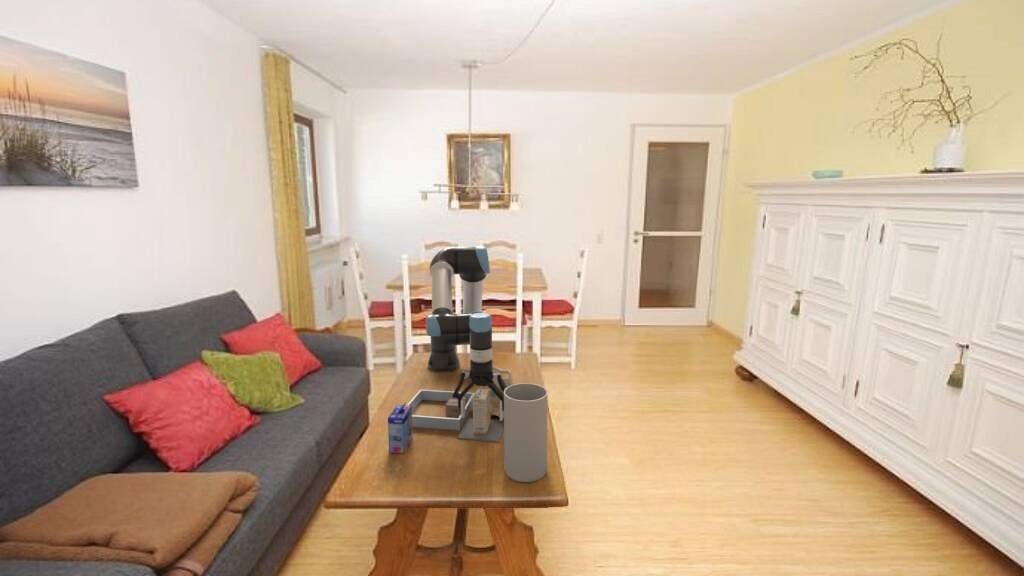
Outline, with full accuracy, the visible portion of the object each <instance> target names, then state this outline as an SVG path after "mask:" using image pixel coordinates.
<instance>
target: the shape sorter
mask: <svg viewBox="0 0 1024 576" xmlns="http://www.w3.org/2000/svg"><path fill="white" fill-rule="evenodd" d="M492 368H493V374H499V373H500V372H501V373H502V375H508V377H503V376H502V379H503V381H504V383H505V385H506V386H507V387H509V386H511V385H514V382H513V381H514V379H513V374H512V371H511V370H510V369H502V368H499V367H498V366H495V365H493V364H492ZM494 371H495V372H494ZM492 380H493V381H494V383H495V385H496V386H497V387H498V388H499V389H500V391H501V392H502V393H503V391H502V389H501V387H500V385H499V383H498V380H496V379H495V378H493V379H492ZM479 389H489V390H490V416H497V417H498V418H500V401H501V400H500V399H499V398H498V397H497V395H496V394H495V393H494V392H493V391H492V390H491V388H489V387H488V386H486V387H485V386H479ZM503 394H504V393H503ZM503 419H504V411H503Z"/></svg>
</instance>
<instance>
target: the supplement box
mask: <svg viewBox="0 0 1024 576" xmlns="http://www.w3.org/2000/svg"><path fill="white" fill-rule="evenodd" d="M474 393H475V395H474V397H473V408H472V418H473V430H474V434H487V432H488V429H489V426H490V423H491V420H492V419H491V413H490V390H489V389H480V388H477V389H476V391H475V392H474Z"/></svg>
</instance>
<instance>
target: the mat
mask: <svg viewBox="0 0 1024 576" xmlns="http://www.w3.org/2000/svg"><path fill="white" fill-rule="evenodd" d="M490 420H491V423H490V426H489V429H488V432H487V434H474V430H473V417H472V418H471V417H467V419H466V420H465V422H464V424H463V426H462V428H461V430H460V432H459V433H458V434H459V435H458V436H457V440H466V441H467V440H468V441H469V440H470V441H478V442H479V441H481V442H482V441H483V442H494V443H495V442H496V443H499V441H500V439H501V436H502V434H503V432H504V420H502V421H500V419H499V420H498V419H497V420H496V419H490Z"/></svg>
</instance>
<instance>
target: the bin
mask: <svg viewBox="0 0 1024 576" xmlns="http://www.w3.org/2000/svg"><path fill="white" fill-rule="evenodd" d="M461 392H462V391H459V392H458V393H459V394H460V393H461ZM453 393H454V391H452V390H451V391H449V390H432V389H419V390H418V392H416V394H415V395H414V396H413V397H412V398H411V400H410V401H409V402H408V403H406V405H410V406H412V412H413V411H414V410H415V409H416V408H417V407H418V405H419V404H420V403H421V401H432V402H433V401H435V402H448V401H449V399H456V400H458V399H457V398H453ZM475 393H476V392H469V391H468V392H467V393H466V394H465V395H464V396H463V397H465V416H464V418H461V415H460V416H459V418H449V417H446V416H445V417H444V416H443V417H441V416H428V415H417V414H416V415H415V414H412V428H423V429H437V430H449V431H450V430H453V431H461V430H462V428H463V426H464V425H465V423H466V421H467V419H468V418H469V415H470V413H471V411H472V410H473V397H474V395H475Z"/></svg>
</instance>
